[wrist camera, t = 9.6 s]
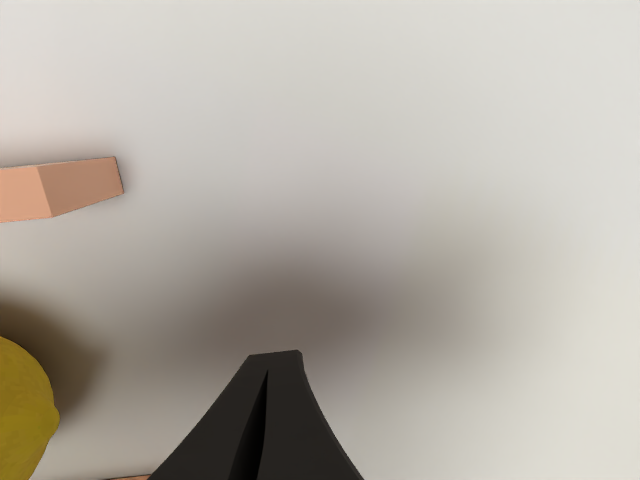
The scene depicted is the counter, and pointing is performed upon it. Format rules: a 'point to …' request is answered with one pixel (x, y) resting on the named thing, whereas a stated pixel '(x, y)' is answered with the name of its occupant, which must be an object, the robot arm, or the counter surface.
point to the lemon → (23, 412)
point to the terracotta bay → (57, 192)
